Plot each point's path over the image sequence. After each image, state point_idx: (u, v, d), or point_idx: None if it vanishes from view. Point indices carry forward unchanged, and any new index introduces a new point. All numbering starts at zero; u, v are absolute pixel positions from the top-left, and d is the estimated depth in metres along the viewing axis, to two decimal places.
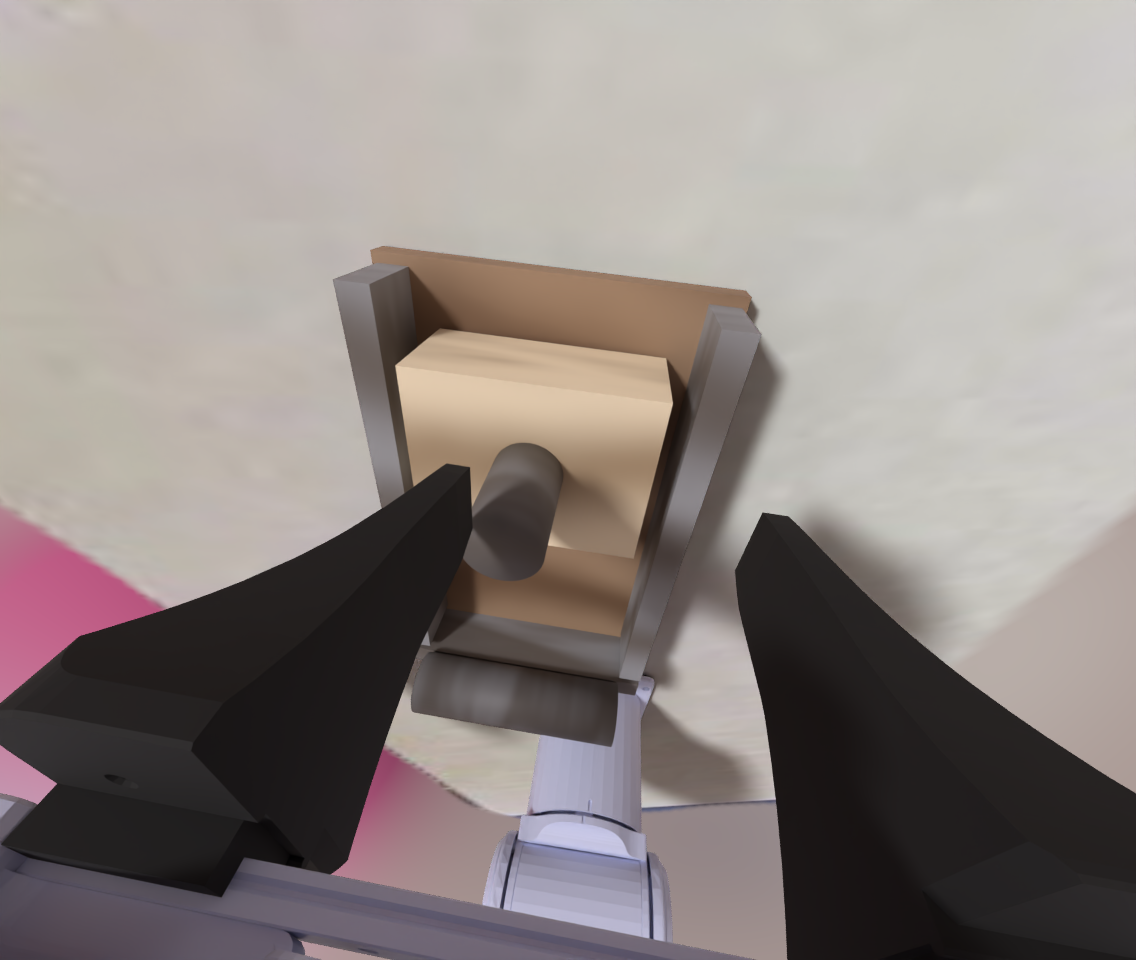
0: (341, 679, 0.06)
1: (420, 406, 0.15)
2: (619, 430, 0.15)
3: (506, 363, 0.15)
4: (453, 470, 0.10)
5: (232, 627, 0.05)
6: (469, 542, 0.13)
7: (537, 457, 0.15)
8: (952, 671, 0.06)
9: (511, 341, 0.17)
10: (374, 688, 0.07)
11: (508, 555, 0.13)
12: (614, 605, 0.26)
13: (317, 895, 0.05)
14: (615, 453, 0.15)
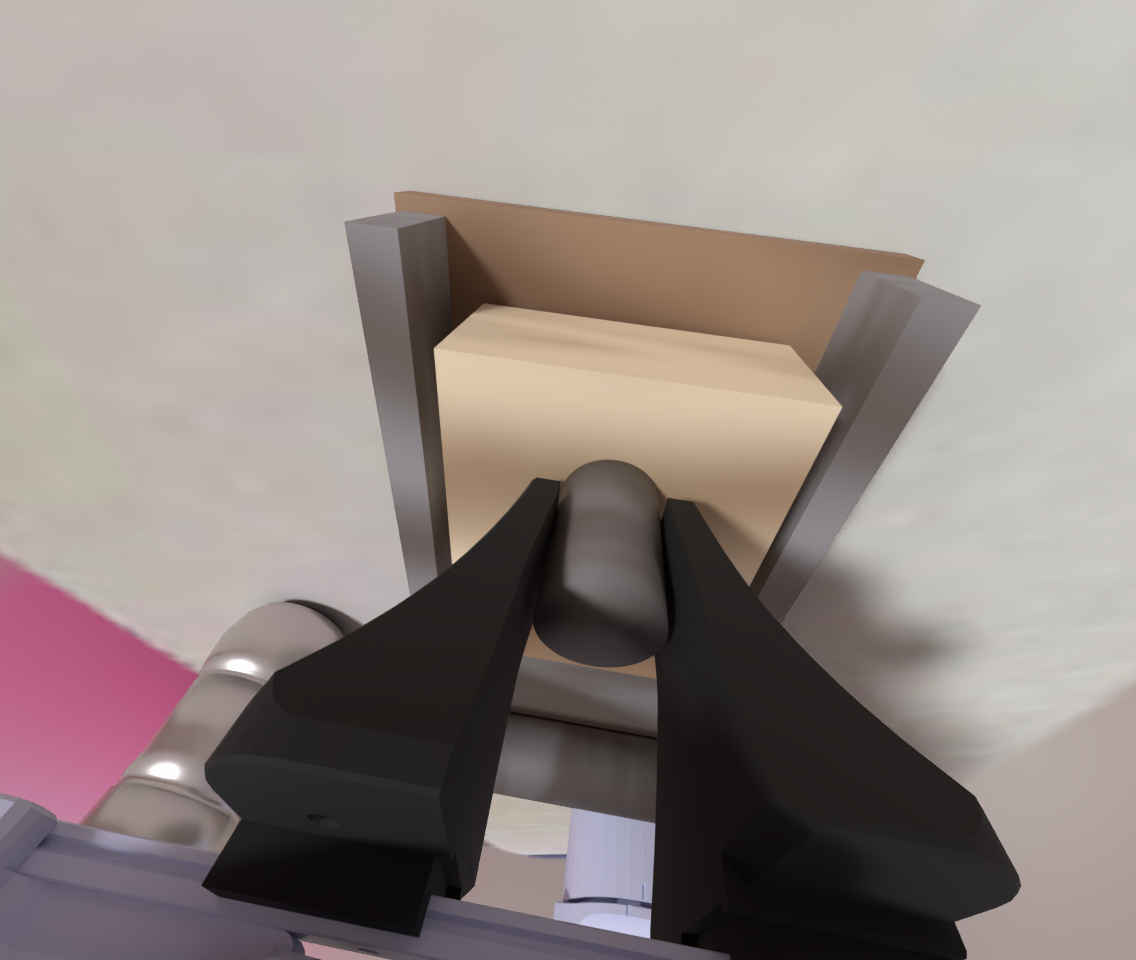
0: (492, 706, 0.06)
1: (466, 407, 0.11)
2: (752, 445, 0.10)
3: (587, 347, 0.11)
4: (546, 485, 0.10)
5: (412, 658, 0.05)
6: (551, 615, 0.08)
7: (632, 481, 0.10)
8: (796, 645, 0.06)
9: (581, 321, 0.13)
10: (501, 711, 0.07)
11: (609, 635, 0.09)
12: None
13: None
14: (740, 476, 0.11)
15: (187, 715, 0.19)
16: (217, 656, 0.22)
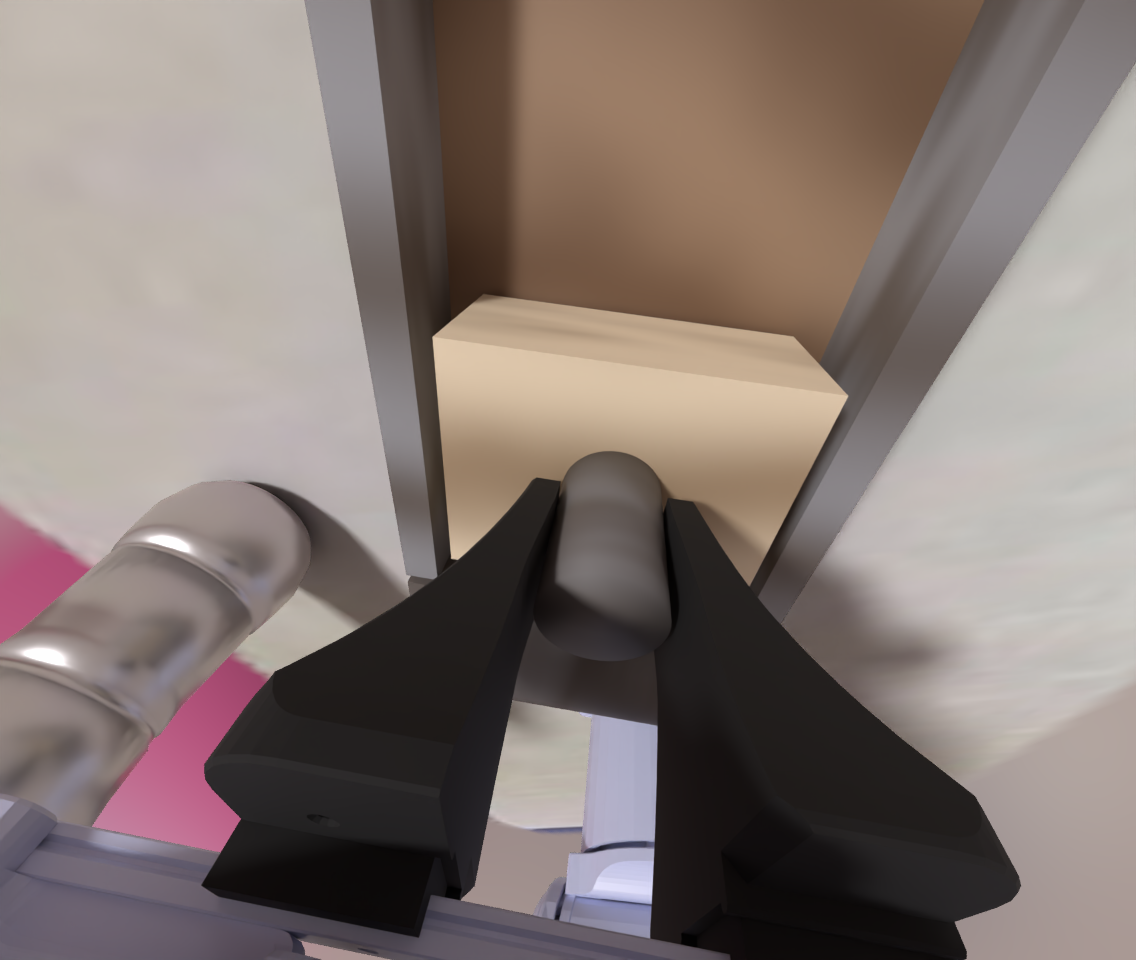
0: (492, 706, 0.06)
1: (465, 398, 0.10)
2: (756, 435, 0.10)
3: (588, 337, 0.11)
4: (546, 484, 0.10)
5: (412, 658, 0.05)
6: (552, 607, 0.08)
7: (635, 472, 0.10)
8: (796, 645, 0.06)
9: (582, 311, 0.12)
10: (501, 711, 0.07)
11: (611, 627, 0.08)
12: None
13: (317, 895, 0.05)
14: (743, 467, 0.11)
15: (80, 590, 0.14)
16: (133, 530, 0.17)
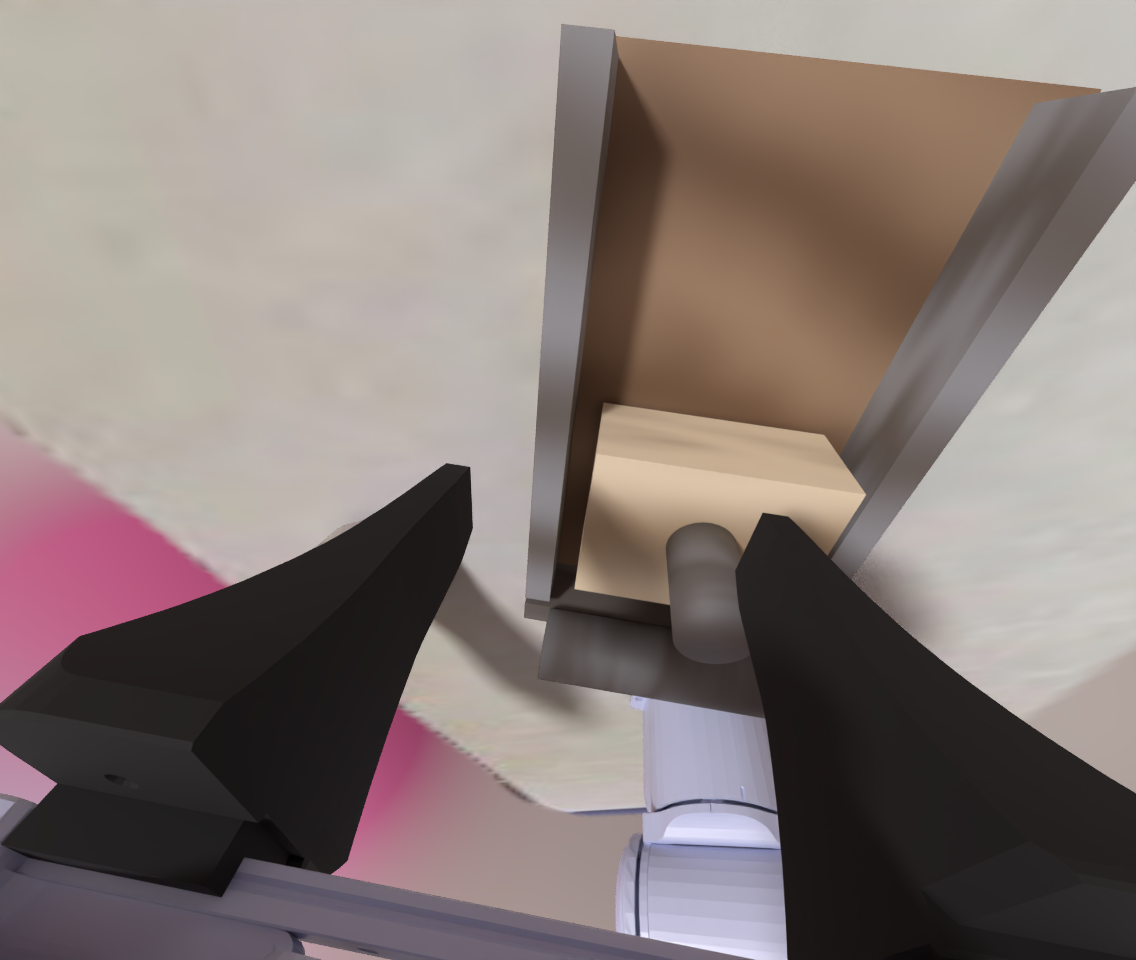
0: (341, 679, 0.06)
1: (610, 488, 0.16)
2: (804, 515, 0.15)
3: (690, 446, 0.16)
4: (453, 470, 0.10)
5: (233, 627, 0.05)
6: (686, 631, 0.13)
7: (724, 539, 0.15)
8: (952, 671, 0.06)
9: (676, 417, 0.18)
10: (374, 688, 0.07)
11: (721, 643, 0.14)
12: None
13: (317, 895, 0.05)
14: None
15: None
16: None
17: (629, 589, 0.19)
